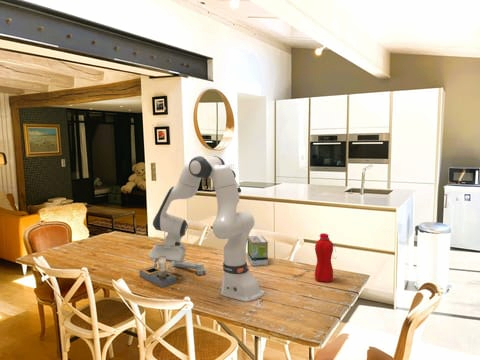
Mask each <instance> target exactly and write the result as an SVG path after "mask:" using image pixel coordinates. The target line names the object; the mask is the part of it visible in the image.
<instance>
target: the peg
mask: <svg viewBox="0 0 480 360" xmlns="http://www.w3.org/2000/svg"><path fill="white" fill-rule="evenodd" d="M157 262H158V264H157V265H158V268H159V278H161V279H162V278H165V277H167V262H166V256H159V257H158V261H157Z"/></svg>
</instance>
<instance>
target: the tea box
mask: <svg viewBox="0 0 480 360" xmlns="http://www.w3.org/2000/svg"><path fill="white" fill-rule="evenodd" d="M268 245H269V242H268V240H267V239H266V238H265V237H264V236H263V235H250V236H248V240H247V260H248V261H249V262H250V264H251V266H252V267H257V266H258V267H259V266H260V267H261V266H268V264H269V263H268V262H269V261H268V260H269V258H268V255H269V254H268V253H269V252H268V251H269V249H268V247H269V246H268Z"/></svg>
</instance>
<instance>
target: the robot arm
mask: <svg viewBox="0 0 480 360" xmlns="http://www.w3.org/2000/svg"><path fill="white" fill-rule="evenodd" d="M202 179H211V180H212V183H213V186H214V191H215V196H216V201H217V202H216V203H217V213H216V217H215V219H214V222H213V223H212V232H213V234H214V236H215V237H216V238H217V239H219V240H227V241H226V243H225V245H224V246H223V263H222V268H223V269H222V270H223V275H222V284H221V291H220V295H221V296H224V297H226V298H229V299H230V298H231V299H234V300H237V301H240V302H245V303H247V302H252V301H255V300H257V299H259V298H261V297H263V296H264V295H265V291H264V290H263V289H261V288H260V284H259V281H258V280H257V278H256V277H255V276H254V275H253V274H252V273H251V271H250V265H248V263H247V255H246V254H247V245H248V236H249V235H250V233H251V231H252V230H253V228H254V226H255V218H254V216H253V215H252V213H250V212H248V211H239V212H237V208H238V207H237V206H238V204H239V202H240V195H239V190H238V189H239V188H238V185H237V181H236V178H235V175H234V172H233V170H232V168H231V167H230V166H229V165H227V164H226V163H225V161H224V159H222V158H221V157H219V156H216V155H214V156H212V155H200V156H198V155H197V156H195V157H193V158H191V160H190V161H189V162H187V163H185V164H184V167H183V169H182V170H181V172H180V175H179V178H178V182H177V183H176V185H175V186H172V187H171V186H170V188H169V190H168V191H167V193H166V195H165V197H164V199H163V200H162V203H161V205H160V207H159V209H158V211H157V213H156V214H155V216H154V218H153V220H152V226H153V227H154V230H156V231H161V232H165V233H166V234H167V235H166V236H165V237H164V240H163V242H162V244H160V243H156V244H155V245H153V246H152V248H151V250H150V252H149V254H148V258H149V259H150V260H151V261H153V262H152V263H153V265H152V266H153V267H154V268H156V267H157V268H158V264H157V262H158V257H159V256H166V263H171V264H169V265H168V267H167V269H168V270H169V271H171V270H172V269H173V268H174V265H175V264H176V263H182V262H183V261H184V260H185V257H186V251H187V248H186V247H185V245H184V244H183V243H182V242H181V240H182V238H183V237H184V236H185V235H186V232H187V230H188V227H189V225H188V222H187V221H186V219H184V218H181V217H179V216H175V215H171V214H168V213H167V211H168V209H169V207H170V205H171V203H172V202H173V201H175V200H186V199H187V200H188V199H192V198H193V197H195V195H196V194H197V192H198V189H199V187H200V183H201V180H202Z"/></svg>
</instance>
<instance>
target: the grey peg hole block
mask: <svg viewBox="0 0 480 360" xmlns="http://www.w3.org/2000/svg"><path fill="white" fill-rule="evenodd" d="M138 271H139V277H140V278H142V279H144V280H146V281H149V282H150V283H152V284H154V285H155V286H157V287H160V288H165V287H168V286H170V285H174V284H177V276H176V275H174V274H172V273H169V272H167V271H166V272H167V277H165V278H162V279H161V278H159V267H158V266H157V267H156V268H154V267H153V265H152V266H150V267H146V268H143V269H139V270H138Z"/></svg>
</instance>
